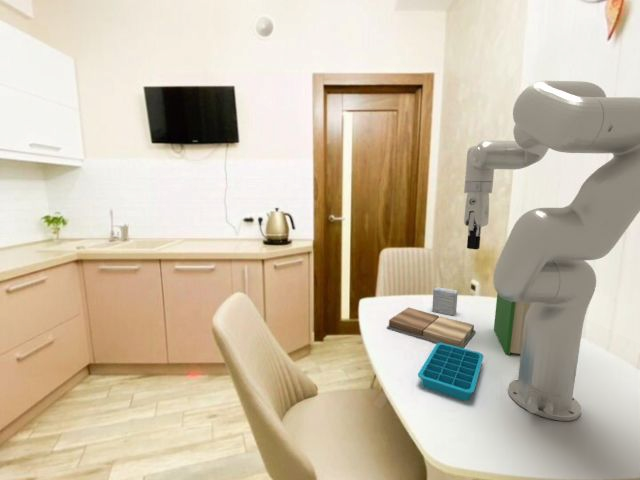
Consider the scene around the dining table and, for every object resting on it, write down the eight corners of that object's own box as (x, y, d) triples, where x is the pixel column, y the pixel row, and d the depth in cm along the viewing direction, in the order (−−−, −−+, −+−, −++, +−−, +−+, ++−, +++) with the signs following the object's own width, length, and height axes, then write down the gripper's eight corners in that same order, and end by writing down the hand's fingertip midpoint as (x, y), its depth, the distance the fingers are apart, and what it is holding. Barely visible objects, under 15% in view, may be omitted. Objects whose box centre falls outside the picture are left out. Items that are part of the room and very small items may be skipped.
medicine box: (456, 312, 117) (458, 290, 116) (454, 316, 114) (456, 293, 113) (434, 308, 122) (436, 286, 120) (431, 311, 118) (433, 289, 117)
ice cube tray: (415, 388, 72) (416, 376, 71) (436, 351, 88) (437, 341, 88) (471, 407, 65) (473, 394, 65) (483, 364, 82) (484, 353, 82)
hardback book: (537, 360, 84) (547, 272, 81) (505, 355, 86) (514, 270, 83) (519, 333, 101) (527, 259, 97) (493, 329, 103) (500, 257, 100)
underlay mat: (461, 351, 88) (461, 349, 88) (386, 328, 102) (386, 326, 102) (475, 332, 100) (475, 330, 100) (407, 314, 115) (407, 312, 115)
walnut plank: (421, 336, 96) (422, 330, 95) (388, 325, 102) (389, 319, 102) (438, 321, 107) (439, 315, 107) (407, 312, 114) (408, 307, 114)
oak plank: (460, 348, 89) (460, 341, 88) (422, 336, 95) (423, 330, 95) (473, 330, 100) (474, 324, 100) (439, 321, 107) (440, 316, 107)
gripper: (486, 187, 86) (480, 253, 89) (497, 188, 98) (491, 247, 100) (457, 187, 91) (452, 250, 94) (471, 188, 102) (466, 244, 105)
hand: (473, 248), depth 97 cm, fingers closed
